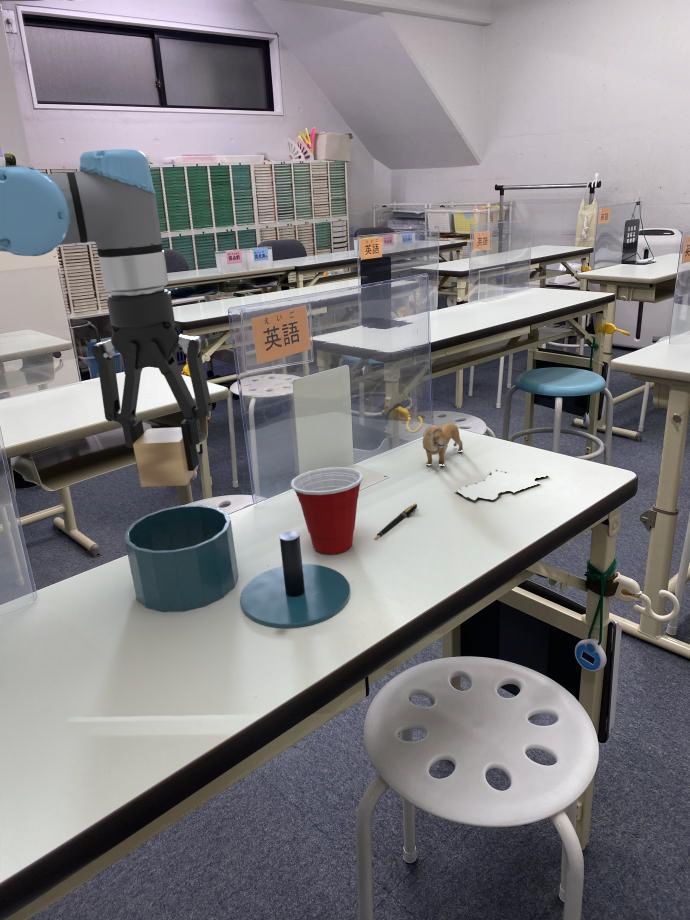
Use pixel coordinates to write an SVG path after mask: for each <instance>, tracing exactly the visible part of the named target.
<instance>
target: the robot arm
mask: <svg viewBox="0 0 690 920" xmlns="http://www.w3.org/2000/svg"><path fill="white" fill-rule="evenodd" d="M78 168H79V170H75V171H72V172H66V173H61V172H60V173H45V172H41V171H40V170H38V169H37V168H34V167H30V166H24V165H16V164H8V165H6V166H2V165H0V252H4V253H5V252H6V253H10V254H12V255H15V256H21V257H39V256H40V257H41V256H43V255H47V254H49V253H50V252H52V251H53V250H55V249H56V248H57V247H59V246H64V245H72V244H87V243H93V242H94V243H95V246H96V251H97V257H98V262H99V267H100V273H101V279H102V284H103V289H104V290H105V291H106V292H109V293H110V294H109V295H108V296H107V298H105V300H106V306H107V310H108V315H109V319H110V325H111V328H112V333H111V336H110V339H108V340H106V341H104V340H103V341H100V342H98V343H96V344H93V345H92V346H91V348H90V351H91V354H92V356H93V357H94V360H95V362H96V363H97V369H98V375H99V376H98V377H99V382H100V383H99V384H100V391H101V398H102V405H103V412H104V418H105V420H106V421H108V422H115V423H119V424H120V425H121V427H122V432H123V437H124V441H125V442H124V443H125V445H126V447H127V448H128V449H131V448H133V450H134V447H133V444H134V443H135V442H136V441H137V440H138V439H139V438H140V437H141V436H142V434H143V433H144V432H145V430H144V424H143V419H135V418H137V416H138V414H137V406H138V399H139V392H140V391H139V390H140V384H141V375H142V371H143V369H144V368H148V367H149V368H158V370H159V372H160V374H161V375H162V376H164V379H165V381H166V383H167V385H168V388H169V389H170V391H171V392H172V394H173V397H174V399H175V401H176V403H177V405H178V407H179V409H180V412H181V413H182V415H183V417H184V419H183V420H182V421H181V423H180V424H179V425H180V427H181V431H182V437H183V442H184V448H185V454H186V460H187V466H188V471H194V470H195V468H196V467H197V465H198V466H199V463H200V461H199V454H198V450H197V449H198V448H197V445H199V444H200V443H201V442H202V439H203V435H202V428H201V422H200V421H201V420H200V419H201V418H205V417H207V416H208V415H209V414H210V412H211V411H212V409H213V404H212V399H211V394H210V390H209V386H208V380H207V376H206V371H205V366H204V362H203V356H202V353H203V351H202V350H203V345H204V344H203V343H204V339H203V337H202V336H200V335H196V336H189V335H184V334H181V331H180V330H179V329H178V327H177V325H176V321H175V320H176V319H175V313H174V307H173V300H172V294H171V291H169V289H167V288H165V287H166V286H167V285H168V284H169V277H168V269H167V264H166V263H167V262H166V257H165V256H166V255H165V251H164V246H163V245H164V244H163V238H162V231H161V223H160V217H159V210H158V204H157V198H156V193H157V191H156V190H155V187H154V183H153V178H152V174H151V169H150V164H149V160H148V158H147V156H146V155H145V154H144V153H143V152H142V151H140V150H138V149H129V148H117V149H116V148H115V149H102V150H91V151H85V152H83V153H81V154H80V157H79V167H78ZM179 345H180V346H181V347H182V348H181V349H182V352H183V353H184V354H185V355H186V362H187V368H188V373H189V376H190V381H191V384H192V390H193V394H194V398H193V396H192V394H191V392H190V391H191V390H190V389H189V387H188V385H187V383H186V381H185V379H184V377H183V375H182V373H181V371H180V369H179V364H178V361H177V360H176V357H175V355H174V353H175V352H176V350H177V348H178V346H179ZM115 350H117V352H118V353H119V355H121V356H122V357H123V358H124V359H125V362H124V382H123V391H122V397H121V398H122V399H121V401H120V392H119V385H118V377H117V371H116V362H115V358H114V357H115V355H116V351H115ZM194 399H195V400H194ZM133 454H134V455H135V452H134V451H133ZM134 459H135V460H136V457H135V456H134ZM135 465H136V466H137V462H136V461H135ZM136 469H137V470H136V471H138V468H137V467H136Z"/></svg>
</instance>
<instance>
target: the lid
mask: <svg viewBox="0 0 690 920" xmlns="http://www.w3.org/2000/svg"><path fill="white" fill-rule="evenodd" d="M279 546H280V553H281V555H280V556H281V563H282V566H278V567H275V568H272V569H269V570H267V571H264V572H262V573H260V574H258V575H256V576H255V577H254V578H252V579H251V580H250V581H248V583H247V584H246V585H245V586H244V587H243V589H242V591H241V593H240V606H241V609H242V612H243V613H244V614H245V615H246V616H247V617H248V618H249V619H250V620H252V621H254V622H255V623H258V624H260V625H264V626H266V627H272V628H280V629H293V628H303V627H308V626H311V625H312V626H313V625H316V624H320V623H321V622H324V621H326V620H329V619H330V618H333V616H335V615H336V614H338V613H339V612H340V611H342V610H343V608H344V607H346V605H347V603H348V602H349V599H350V598H351V597H350V596H351V586H350V583H349V580H348V579H347V578H346V577H345V575H343V574H342V573H341V572H339V571H337V570H336V569H334V568H331V567H328V566H324V565H320V564H312V563H303V558H302V548H301V537H300V533H299V532H297V531H292V530H291V531H284V532H283V533H281V534H280V535H279Z"/></svg>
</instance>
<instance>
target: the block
mask: <svg viewBox="0 0 690 920" xmlns="http://www.w3.org/2000/svg"><path fill="white" fill-rule="evenodd" d="M133 447H134V449H133V453H134V452H135V454H134V458H135V457H136V459H135V463H136V462H137V465H136V469H137V468H138V470H137V473H138V478H139V483H140V488H156V487H159V488H160V487H182V486H183V487H184V486H187V485H188V484H189V482H190V481H191V479H192V477H193V476H194V474H195V473H196V472H197V470H198V468H199V464H198V465H197V467H196V468H195V470H194V471H188V466H187V460H186V454H185V448H184V442H183V437H182V431H181V426H178V427H175V426H174V427H157V428H155V427H153V428H147V429H146V430H144V433H143V434H142V436H141V437H140V438H139V439H138V440H137V441H136V442H135V443H134V444H133Z"/></svg>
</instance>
